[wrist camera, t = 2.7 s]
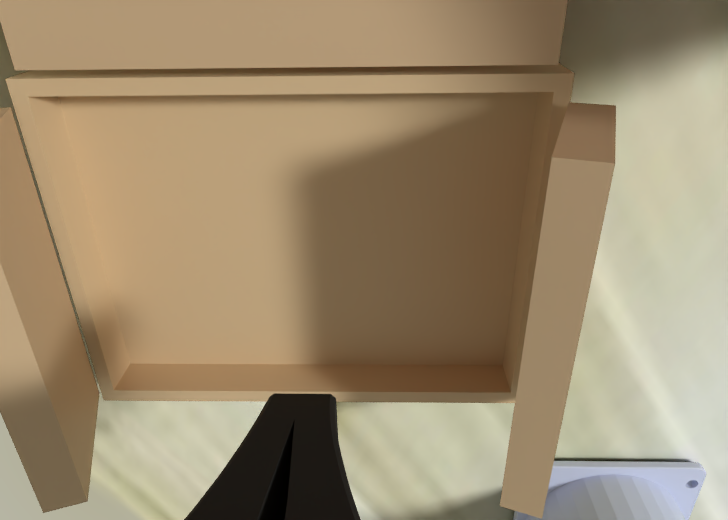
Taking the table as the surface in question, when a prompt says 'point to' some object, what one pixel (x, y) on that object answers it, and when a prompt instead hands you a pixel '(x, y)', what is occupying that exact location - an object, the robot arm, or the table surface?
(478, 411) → the table surface
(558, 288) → the flap right
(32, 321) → the flap left
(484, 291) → the carton
